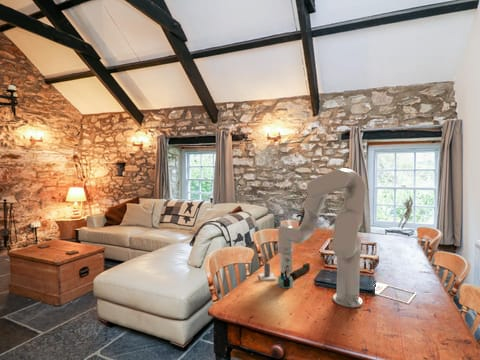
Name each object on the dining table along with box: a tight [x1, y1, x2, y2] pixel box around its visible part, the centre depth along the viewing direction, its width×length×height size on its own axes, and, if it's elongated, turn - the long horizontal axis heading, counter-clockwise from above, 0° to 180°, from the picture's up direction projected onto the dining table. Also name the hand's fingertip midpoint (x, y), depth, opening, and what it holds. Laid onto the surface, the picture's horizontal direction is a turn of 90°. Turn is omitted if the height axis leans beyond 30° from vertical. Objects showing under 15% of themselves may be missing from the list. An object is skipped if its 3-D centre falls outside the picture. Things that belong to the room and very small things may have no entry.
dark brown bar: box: [289, 263, 311, 280], centre depth 161 cm, size 19×4×5 cm, turn 136°
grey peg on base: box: [258, 262, 276, 282], centre depth 156 cm, size 8×8×8 cm
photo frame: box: [374, 281, 418, 305], centre depth 138 cm, size 15×1×18 cm
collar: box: [277, 274, 294, 289], centre depth 146 cm, size 7×7×4 cm
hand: (285, 283), depth 146 cm, fingers closed on collar, 7 cm apart
